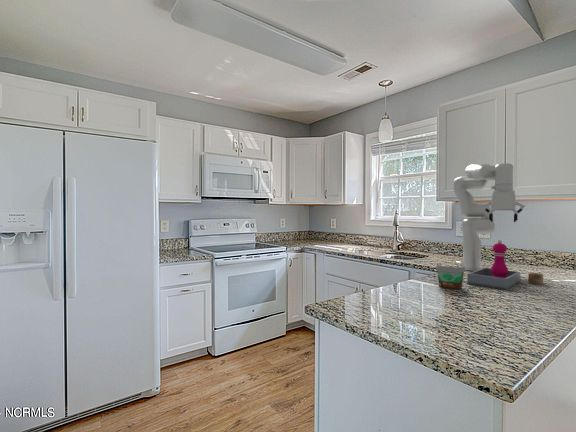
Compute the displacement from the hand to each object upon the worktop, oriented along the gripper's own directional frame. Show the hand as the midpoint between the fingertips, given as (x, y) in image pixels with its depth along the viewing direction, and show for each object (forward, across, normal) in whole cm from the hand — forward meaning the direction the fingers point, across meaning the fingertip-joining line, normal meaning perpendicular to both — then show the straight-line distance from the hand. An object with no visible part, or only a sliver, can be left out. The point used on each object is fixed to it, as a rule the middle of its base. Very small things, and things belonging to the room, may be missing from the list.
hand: (503, 221), depth 156 cm
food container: (+31, -18, -34) cm, 49 cm away
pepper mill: (+30, -1, -1) cm, 30 cm away
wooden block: (+31, +14, +5) cm, 34 cm away
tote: (+30, -3, -6) cm, 31 cm away
